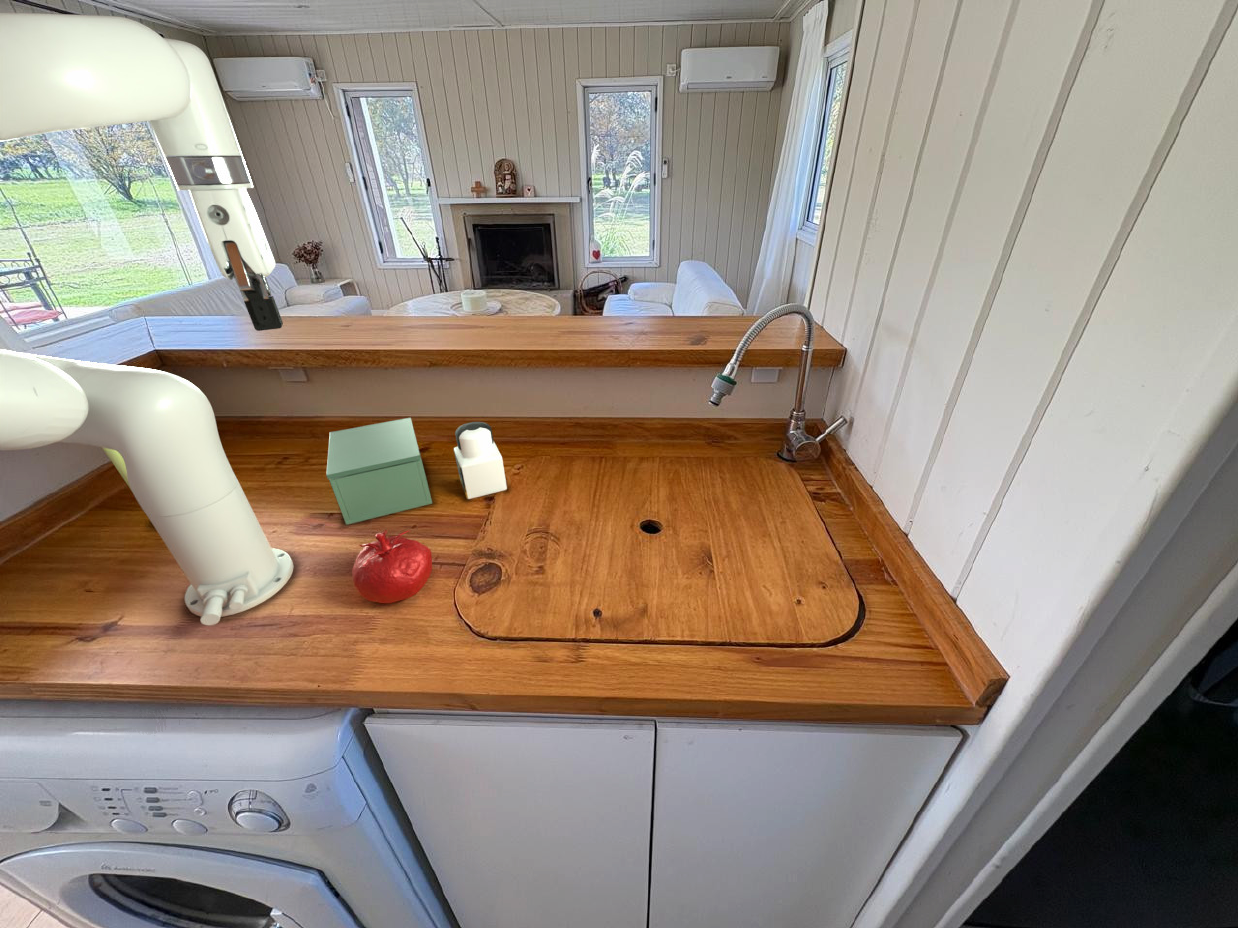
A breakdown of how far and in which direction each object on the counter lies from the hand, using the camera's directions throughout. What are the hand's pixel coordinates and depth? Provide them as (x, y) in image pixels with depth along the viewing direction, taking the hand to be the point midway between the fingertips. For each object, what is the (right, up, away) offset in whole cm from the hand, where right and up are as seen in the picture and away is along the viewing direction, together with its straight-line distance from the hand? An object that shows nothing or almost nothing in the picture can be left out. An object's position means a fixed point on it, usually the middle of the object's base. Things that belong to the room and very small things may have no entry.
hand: (269, 327), depth 69 cm
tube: (-26, -28, +14) cm, 41 cm away
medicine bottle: (+24, -23, +22) cm, 40 cm away
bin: (+7, -24, +21) cm, 32 cm away
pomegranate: (+18, -36, +1) cm, 40 cm away
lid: (+7, -16, +16) cm, 23 cm away
